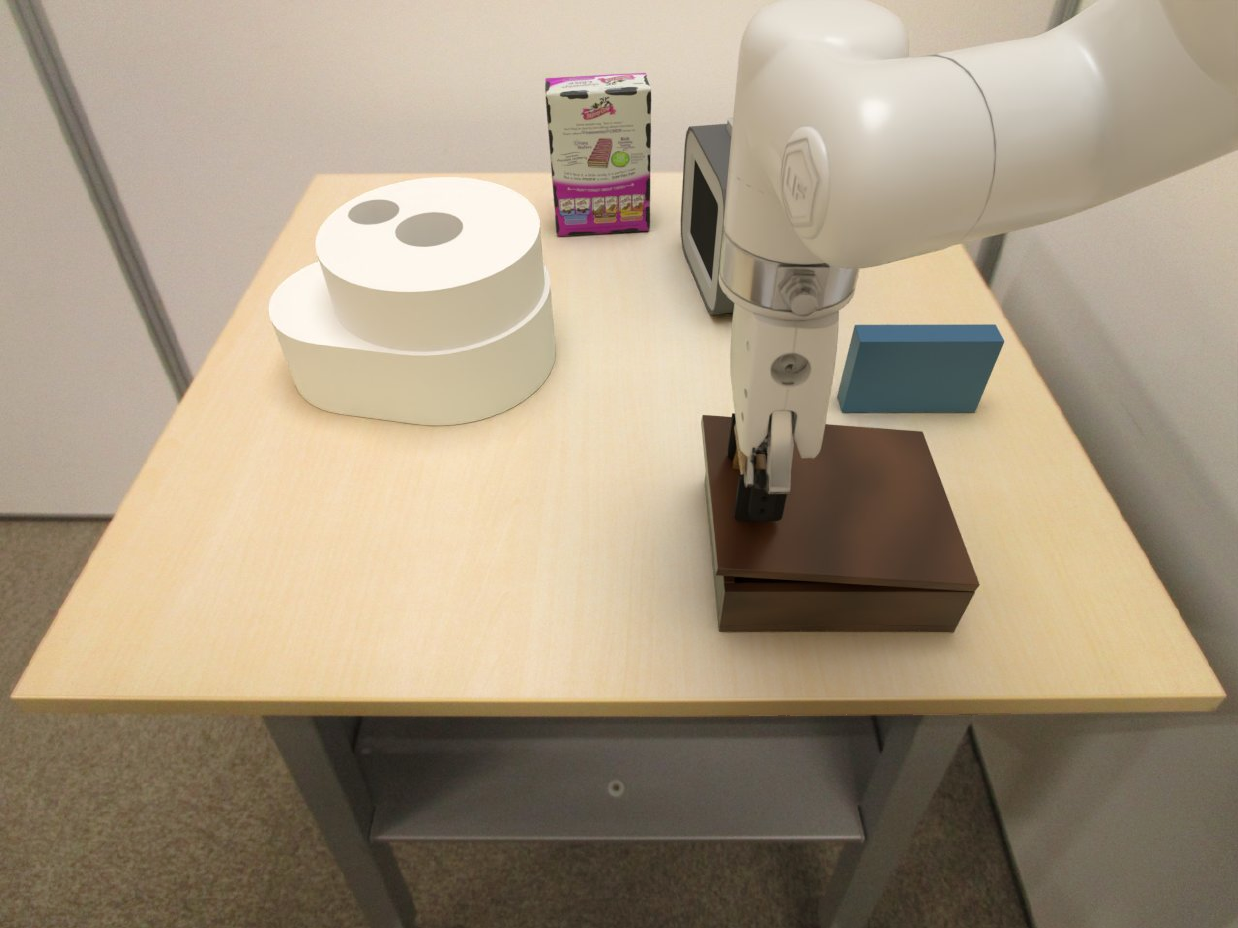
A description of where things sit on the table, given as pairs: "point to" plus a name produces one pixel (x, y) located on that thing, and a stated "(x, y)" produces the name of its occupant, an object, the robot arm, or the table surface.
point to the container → (421, 305)
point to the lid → (842, 513)
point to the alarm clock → (706, 208)
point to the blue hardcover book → (918, 368)
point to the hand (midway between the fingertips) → (753, 484)
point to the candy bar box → (600, 152)
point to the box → (831, 605)
